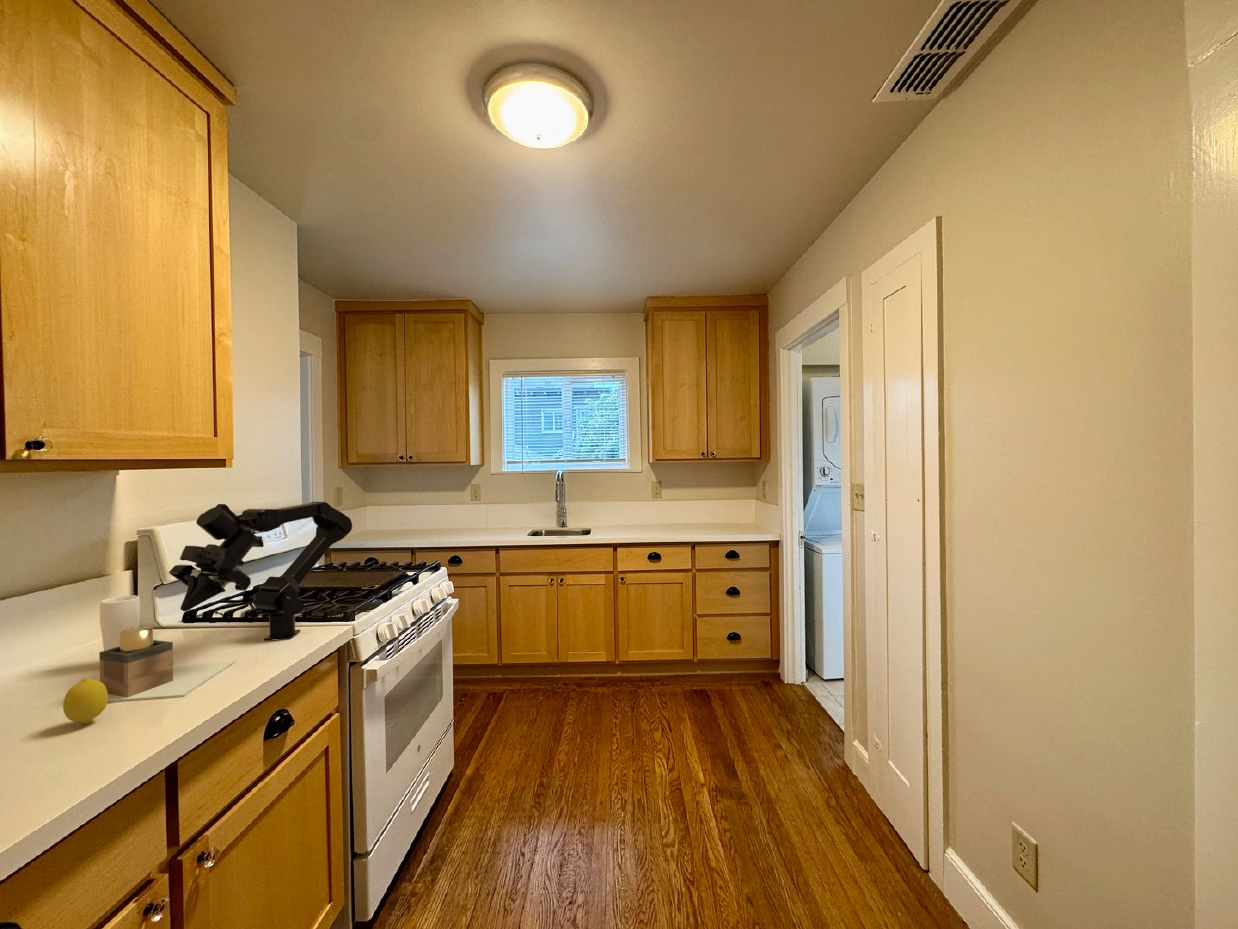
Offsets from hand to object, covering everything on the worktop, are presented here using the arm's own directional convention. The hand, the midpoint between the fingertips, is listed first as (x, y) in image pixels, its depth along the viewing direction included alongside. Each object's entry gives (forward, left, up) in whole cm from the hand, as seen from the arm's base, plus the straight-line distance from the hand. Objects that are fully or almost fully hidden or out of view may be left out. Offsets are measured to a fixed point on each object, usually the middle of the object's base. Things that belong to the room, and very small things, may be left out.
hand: (183, 610), depth 116 cm
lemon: (+23, -2, -14) cm, 27 cm away
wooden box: (+8, -4, -14) cm, 16 cm away
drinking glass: (-8, -18, -14) cm, 24 cm away
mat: (+5, -1, -14) cm, 14 cm away
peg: (+8, -4, -10) cm, 13 cm away
